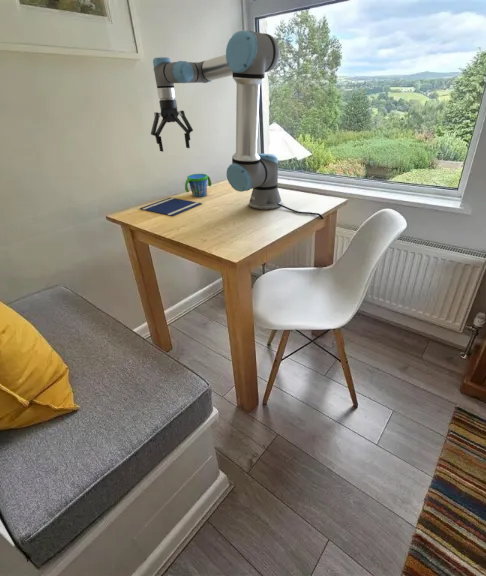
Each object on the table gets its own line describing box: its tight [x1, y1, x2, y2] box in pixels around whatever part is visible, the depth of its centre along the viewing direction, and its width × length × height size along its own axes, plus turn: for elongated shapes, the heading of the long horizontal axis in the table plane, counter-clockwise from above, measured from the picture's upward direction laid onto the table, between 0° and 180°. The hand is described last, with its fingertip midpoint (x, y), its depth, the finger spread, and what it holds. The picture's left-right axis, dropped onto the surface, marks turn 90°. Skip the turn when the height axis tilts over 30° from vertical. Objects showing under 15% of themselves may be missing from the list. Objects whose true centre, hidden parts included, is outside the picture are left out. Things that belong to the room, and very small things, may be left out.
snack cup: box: [184, 173, 212, 198], centre depth 170 cm, size 16×10×10 cm
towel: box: [139, 197, 203, 217], centre depth 158 cm, size 22×20×1 cm
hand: (175, 149), depth 158 cm, fingers open, 13 cm apart
